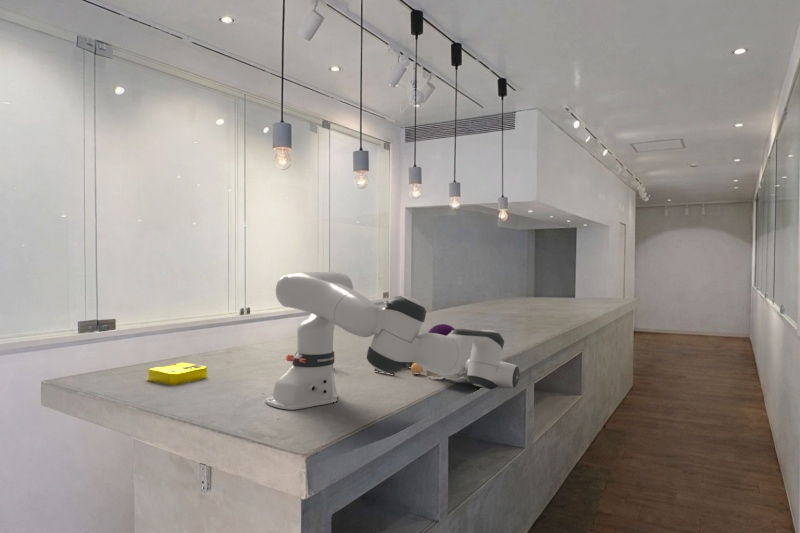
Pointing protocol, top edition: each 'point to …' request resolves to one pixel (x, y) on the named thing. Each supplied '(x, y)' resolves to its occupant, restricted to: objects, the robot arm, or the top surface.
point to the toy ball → (441, 329)
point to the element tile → (177, 373)
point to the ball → (416, 368)
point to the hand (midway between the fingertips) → (442, 365)
